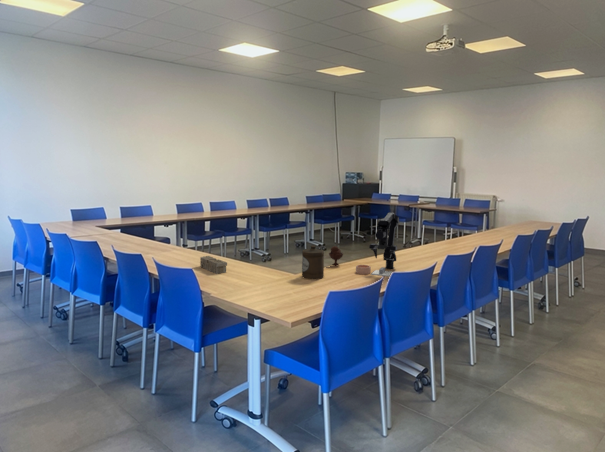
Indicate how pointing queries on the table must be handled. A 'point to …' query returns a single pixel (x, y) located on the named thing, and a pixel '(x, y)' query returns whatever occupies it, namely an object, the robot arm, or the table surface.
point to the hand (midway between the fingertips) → (382, 259)
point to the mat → (378, 275)
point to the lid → (382, 272)
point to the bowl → (363, 269)
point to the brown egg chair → (335, 254)
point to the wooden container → (313, 263)
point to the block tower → (213, 264)
